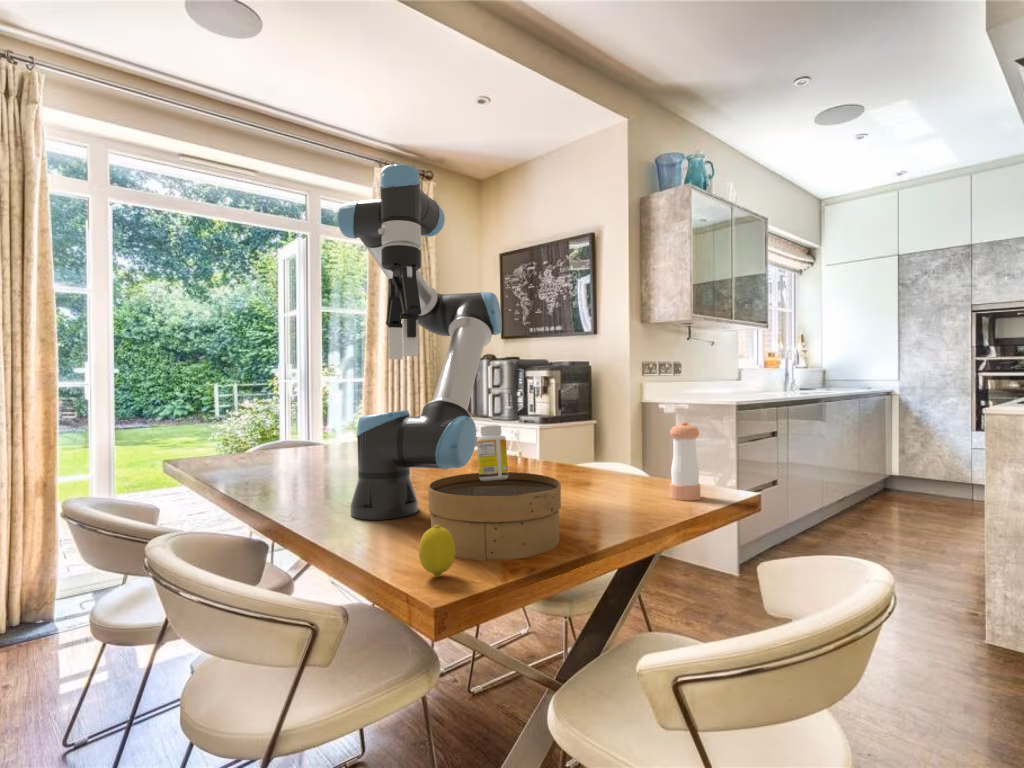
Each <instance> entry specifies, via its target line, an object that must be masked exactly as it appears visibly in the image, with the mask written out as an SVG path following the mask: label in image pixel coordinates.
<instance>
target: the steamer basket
mask: <svg viewBox="0 0 1024 768" xmlns="http://www.w3.org/2000/svg"><path fill="white" fill-rule="evenodd" d="M561 487H562V485H561V482H560V480H558V479H556V478H554V477H552V476H548V475H543V474H537V473H529V472H514V471H513V472H512V471H508V478H507V479H504V480H490V481H481V480H480V479H479V472H474V473H473V472H471V473H464V474H457V475H450V476H446V477H441V478H438V479H435V480H433V481H431V482H430V483H429V484H428V485H427V488H428V489H427V491H428V492H427V493H428V495H427V496H428V499H427V501H428V511H429V513H430V528H432V527H434V526H435V525H439V526H440V527H443V528H445V529H447V530H448V531H449V532H450V533H451V535H452V536H453V539H454V543H455V558H458V559H464V560H466V559H467V560H474V561H475V560H476V561H489V562H490V561H510V560H517V559H524V558H525V559H526V558H529V557H534V556H537V555H540V554H543V553H546V552H548V551H551V550H553V549H554V548H555V547H556V546H557V545H558V544H559V543H560V509H561V505H562V503H561V501H562V498H561V497H562V493H561V492H562V490H561V489H562V488H561Z"/></svg>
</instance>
